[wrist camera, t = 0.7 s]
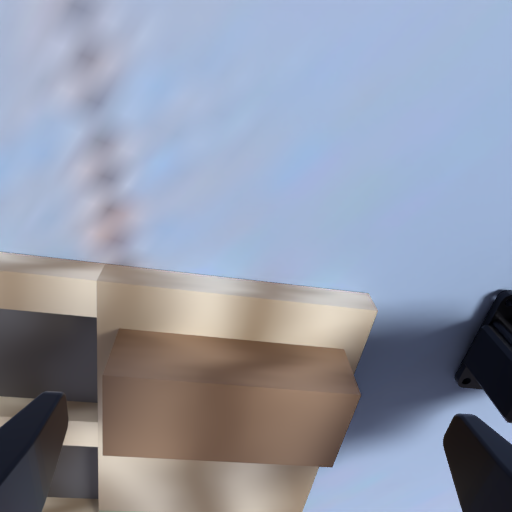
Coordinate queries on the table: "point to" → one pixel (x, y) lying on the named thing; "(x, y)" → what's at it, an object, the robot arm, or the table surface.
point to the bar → (225, 400)
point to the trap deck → (158, 320)
